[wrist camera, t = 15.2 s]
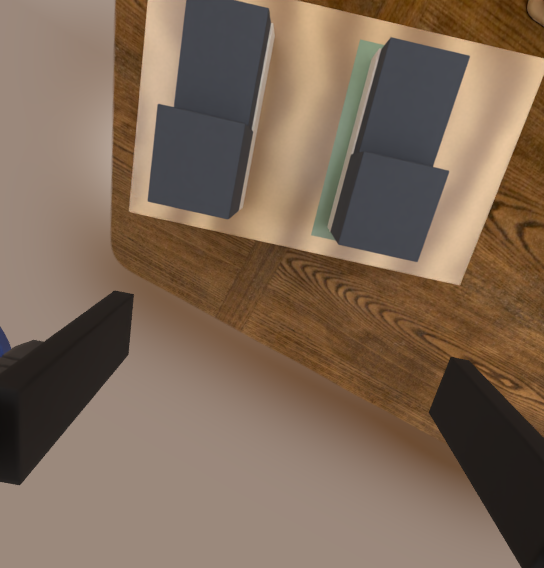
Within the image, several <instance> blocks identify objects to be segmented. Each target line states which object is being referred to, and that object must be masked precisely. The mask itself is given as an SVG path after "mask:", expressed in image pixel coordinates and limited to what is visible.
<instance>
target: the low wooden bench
mask: <svg viewBox="0 0 544 568" xmlns="http://www.w3.org/2000/svg"><path fill="white" fill-rule="evenodd" d="M237 1H241V2H245V3H249V4H254V5H258V6H262V7H266V8H269V11H270V19H271V23H273V26H274V34H275V38H274V43H273V49H272V54H271V59H270V65H269V70H268V75H267V81H266V86H265V91H264V97H263V102H262V107H261V113H260V118H259V123H258V129H257V134H256V139H255V145H254V150H253V155H252V161H251V166H250V172H249V177H248V182H247V188H246V193H245V198H244V204H243V208H242V209H240V210H239V211H238V212H237V213H236V214H234V215H233V216H232V217H231V218H230V219H223V218H219V217H214V216H210V215H205V214H201V213H196V212H192V211H187V210H183V209H178V208H174V207H169V206H165V205H160V204H156V203H151V202H148V201H147V200H148V191H149V181H150V172H151V162H152V153H153V143H154V134H155V124H156V115H157V105H158V104H162V105H167V106H171V107H174V100H175V91H176V83H177V74H178V66H179V57H180V49H181V41H182V32H183V24H184V15H185V7H186V0H148V4H147V15H146V26H145V37H144V48H143V59H142V71H141V82H140V93H139V104H138V115H137V126H136V137H135V148H134V159H133V170H132V181H131V192H130V203H129V212H132V213H136V214H141V215H145V216H150V217H154V218H159V219H163V220H168V221H172V222H177V223H181V224H186V225H190V226H195V227H199V228H204V229H208V230H213V231H217V232H222V233H226V234H231V235H235V236H240V237H244V238H249V239H253V240H258V241H262V242H267V243H271V244H276V245H280V246H285V247H289V248H294V249H298V250H303V251H307V252H312V253H316V254H321V255H325V256H330V257H334V258H339V259H343V260H348V261H352V262H357V263H361V264H366V265H370V266H375V267H379V268H384V269H388V270H393V271H397V272H402V273H406V274H411V275H415V276H420V277H424V278H429V279H433V280H438V281H442V282H447V283H451V284H456V285H460V284H461V281H462V279H463V276H464V274H465V271H466V269H467V266H468V264H469V261H470V259H471V256H472V254H473V251H474V249H475V246H476V244H477V241H478V239H479V236H480V234H481V231H482V228H483V226H484V223H485V221H486V218H487V216H488V213H489V211H490V208H491V206H492V203H493V201H494V198H495V196H496V193H497V191H498V188H499V186H500V183H501V181H502V178H503V176H504V173H505V171H506V168H507V166H508V163H509V161H510V158H511V156H512V153H513V151H514V148H515V146H516V143H517V141H518V138H519V136H520V133H521V131H522V128H523V126H524V123H525V121H526V118H527V115H528V113H529V110H530V108H531V105H532V103H533V100H534V98H535V95H536V93H537V90H538V88H539V85H540V83H541V80H542V78H543V75H544V58H539V57H535V56H531V55H527V54H522V53H518V52H514V51H510V50H505V49H501V48H497V47H493V46H488V45H484V44H480V43H476V42H471V41H467V40H463V39H459V38H455V37H450V36H446V35H442V34H438V33H433V32H429V31H425V30H421V29H416V28H412V27H408V26H404V25H399V24H395V23H391V22H387V21H382V20H378V19H374V18H370V17H365V16H361V15H357V14H353V13H349V12H344V11H340V10H336V9H332V8H327V7H323V6H319V5H315V4H310V3H306V2H302V1H298V0H237ZM390 37H393V38H397V39H401V40H406V41H410V42H414V43H418V44H423V45H427V46H431V47H435V48H440V49H444V50H448V51H452V52H457V53H461V54H465V55H469V56H470V59H469V62H468V65H467V68H466V71H465V73H464V76H463V79H462V82H461V85H460V88H459V91H458V94H457V97H456V100H455V103H454V106H453V109H452V112H451V115H450V118H449V121H448V124H447V127H446V130H445V133H444V136H443V139H442V142H441V145H440V148H439V151H438V154H437V157H436V159H435V162H434V165H433V167H436V168H440V169H444V170H449V175H448V177H447V180H446V183H445V186H444V189H443V192H442V195H441V197H440V200H439V203H438V206H437V209H436V212H435V214H434V217H433V220H432V223H431V226H430V229H429V231H428V234H427V237H426V240H425V243H424V246H423V248H422V251H421V254H420V257H419V260H418V262H413V261H409V260H404V259H400V258H395V257H391V256H386V255H382V254H377V253H373V252H368V251H364V250H359V249H355V248H351V247H346V246H342V245H338V243H337V242H336V240H335V239H334V237H333V235H332V234H331V232H330V231H329V229H328V227H327V226H328V222H329V218H330V214H331V211H332V207H333V203H334V199H335V195H336V192H337V188H338V184H339V180H340V176H341V173H342V169H343V165H344V161H345V157H346V154H347V150H348V146H349V142H350V138H351V135H352V131H353V127H354V123H355V119H356V116H357V112H358V108H359V104H360V100H361V97H362V93H363V89H364V85H365V81H366V78H367V74H368V70H369V66H370V63H371V59H372V58H373V56H374V55H375V54H376V52H377V51H378V50H379V49H382V48H383V46H384V45H385V44H386V42H387V41H388V40H389V39H390Z"/></svg>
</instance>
